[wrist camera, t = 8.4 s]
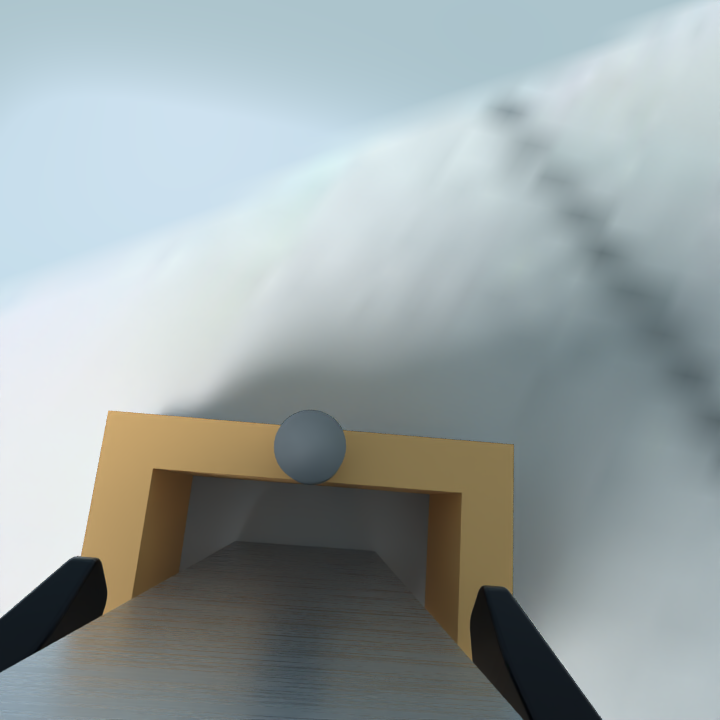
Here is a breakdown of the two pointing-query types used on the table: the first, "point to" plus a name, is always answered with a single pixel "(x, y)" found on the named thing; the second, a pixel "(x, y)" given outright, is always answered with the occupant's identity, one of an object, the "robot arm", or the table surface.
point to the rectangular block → (259, 649)
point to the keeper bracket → (303, 503)
